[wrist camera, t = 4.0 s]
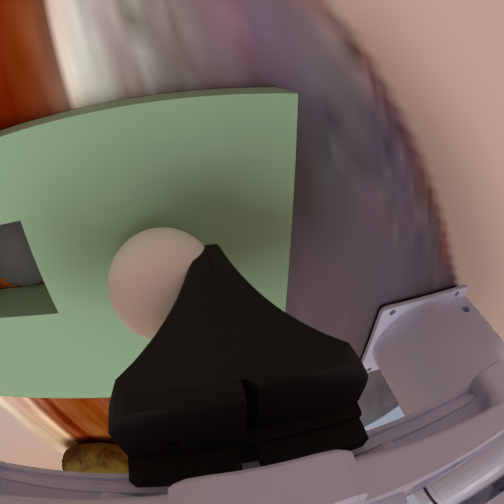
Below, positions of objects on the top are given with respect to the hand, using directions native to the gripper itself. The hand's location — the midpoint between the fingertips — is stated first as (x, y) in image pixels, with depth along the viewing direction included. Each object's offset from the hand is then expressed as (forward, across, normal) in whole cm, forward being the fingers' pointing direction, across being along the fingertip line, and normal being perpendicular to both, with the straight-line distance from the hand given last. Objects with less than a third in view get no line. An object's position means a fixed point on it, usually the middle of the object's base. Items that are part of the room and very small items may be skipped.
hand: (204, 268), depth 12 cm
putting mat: (+4, +6, +2) cm, 8 cm away
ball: (0, +2, 0) cm, 2 cm away
